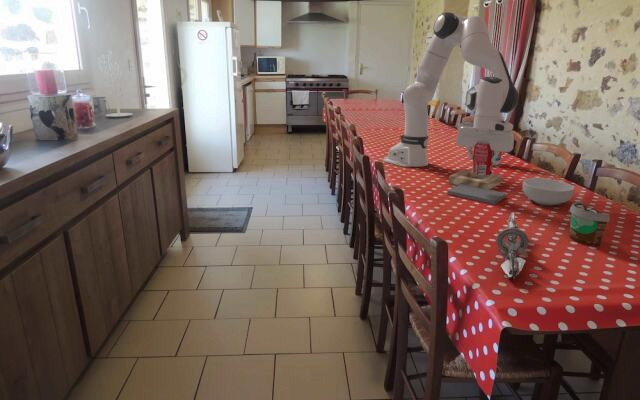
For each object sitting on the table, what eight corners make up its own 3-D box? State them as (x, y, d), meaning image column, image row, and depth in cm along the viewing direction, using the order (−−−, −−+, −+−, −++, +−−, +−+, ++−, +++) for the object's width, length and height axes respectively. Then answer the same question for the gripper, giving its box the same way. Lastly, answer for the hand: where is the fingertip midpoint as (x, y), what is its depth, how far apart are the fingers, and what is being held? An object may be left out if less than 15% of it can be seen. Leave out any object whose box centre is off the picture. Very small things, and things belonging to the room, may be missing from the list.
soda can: (493, 178, 159) (497, 143, 154) (473, 177, 160) (477, 143, 155) (489, 173, 165) (493, 139, 161) (469, 172, 166) (473, 139, 162)
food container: (555, 231, 131) (561, 200, 128) (574, 231, 132) (581, 200, 128) (582, 248, 119) (589, 215, 116) (603, 248, 120) (611, 214, 117)
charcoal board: (447, 194, 166) (447, 190, 166) (460, 187, 175) (460, 184, 174) (494, 204, 155) (494, 200, 154) (505, 197, 164) (506, 193, 163)
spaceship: (531, 209, 127) (506, 196, 128) (539, 272, 97) (506, 255, 98) (516, 229, 131) (492, 217, 132) (519, 296, 101) (488, 279, 102)
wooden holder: (448, 183, 180) (449, 175, 179) (464, 176, 191) (465, 168, 190) (486, 191, 170) (487, 183, 169) (500, 183, 181) (502, 175, 180)
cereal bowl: (550, 212, 148) (554, 193, 145) (510, 199, 162) (513, 180, 159) (581, 205, 155) (585, 186, 153) (540, 193, 169) (543, 175, 167)
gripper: (455, 121, 160) (451, 158, 165) (512, 127, 148) (506, 166, 152) (462, 120, 165) (458, 155, 169) (518, 125, 152) (512, 163, 157)
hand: (481, 160), depth 161 cm, fingers closed on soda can, 6 cm apart
